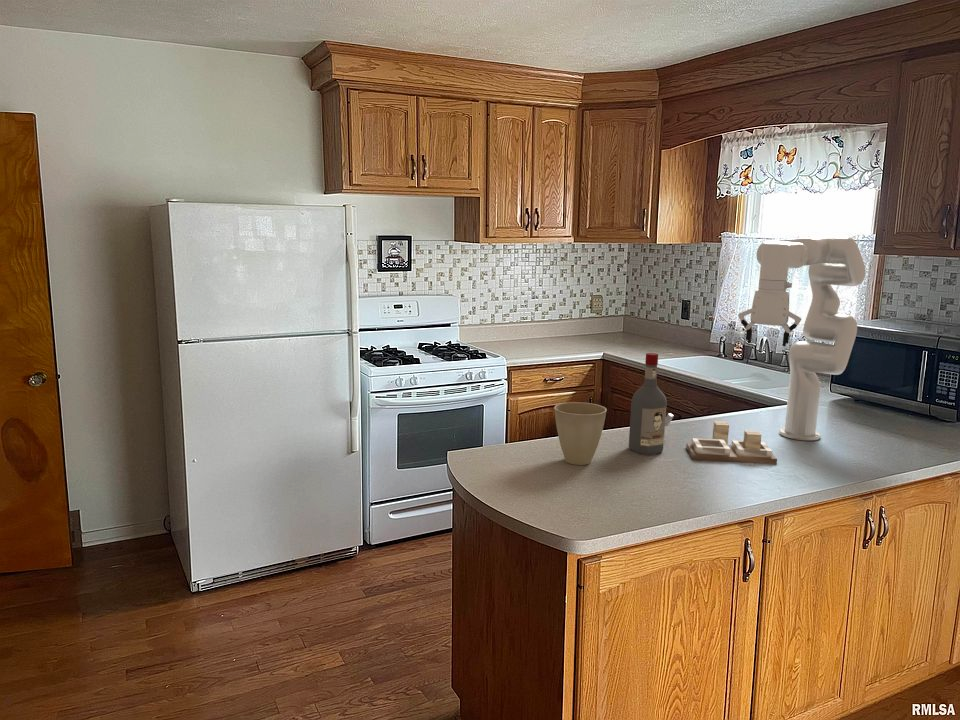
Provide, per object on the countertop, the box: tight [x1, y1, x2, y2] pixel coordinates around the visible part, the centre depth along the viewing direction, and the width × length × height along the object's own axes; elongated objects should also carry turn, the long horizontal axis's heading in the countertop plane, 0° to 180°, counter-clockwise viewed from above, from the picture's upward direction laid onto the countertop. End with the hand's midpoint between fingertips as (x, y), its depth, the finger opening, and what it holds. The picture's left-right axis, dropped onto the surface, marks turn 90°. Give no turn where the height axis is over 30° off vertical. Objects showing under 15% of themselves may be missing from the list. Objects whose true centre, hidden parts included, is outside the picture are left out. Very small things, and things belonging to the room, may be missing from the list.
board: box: [686, 430, 778, 465], centre depth 227 cm, size 12×24×8 cm, turn 84°
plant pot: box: [554, 401, 608, 466], centre depth 218 cm, size 15×15×16 cm
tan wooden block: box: [711, 420, 730, 444], centre depth 242 cm, size 4×4×6 cm
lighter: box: [664, 412, 674, 436], centre depth 247 cm, size 7×2×8 cm, turn 42°
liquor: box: [628, 352, 668, 456], centre depth 229 cm, size 9×9×30 cm
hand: (766, 344), depth 222 cm, fingers open, 9 cm apart
